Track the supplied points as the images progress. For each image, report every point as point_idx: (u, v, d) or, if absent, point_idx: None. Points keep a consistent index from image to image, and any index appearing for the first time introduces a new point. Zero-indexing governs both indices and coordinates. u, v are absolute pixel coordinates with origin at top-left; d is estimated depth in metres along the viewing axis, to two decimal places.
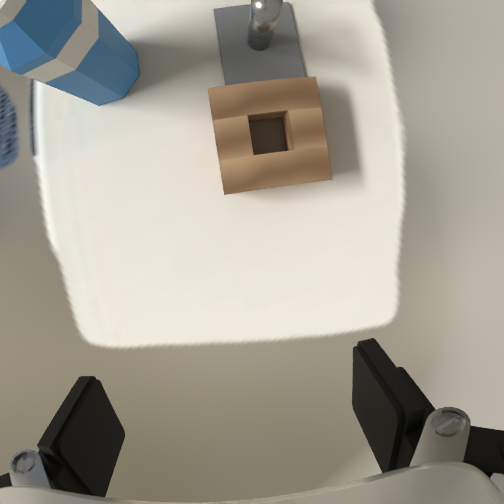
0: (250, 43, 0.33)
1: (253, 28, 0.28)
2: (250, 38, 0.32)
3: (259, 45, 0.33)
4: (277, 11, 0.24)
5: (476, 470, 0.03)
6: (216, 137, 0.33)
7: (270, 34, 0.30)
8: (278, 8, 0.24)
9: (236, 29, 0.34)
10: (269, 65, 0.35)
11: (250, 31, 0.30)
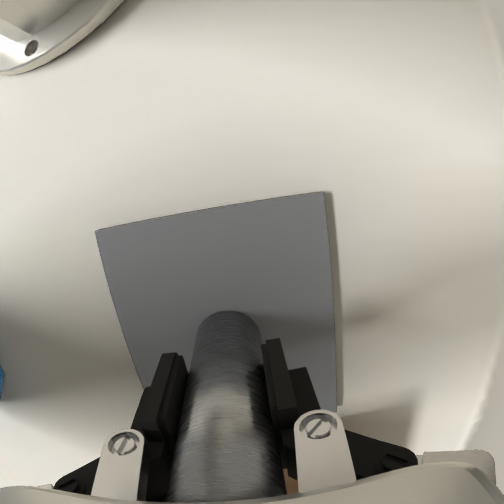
0: None
1: None
2: None
3: None
4: None
5: (476, 470, 0.03)
6: None
7: None
8: None
9: (164, 305, 0.14)
10: None
11: None
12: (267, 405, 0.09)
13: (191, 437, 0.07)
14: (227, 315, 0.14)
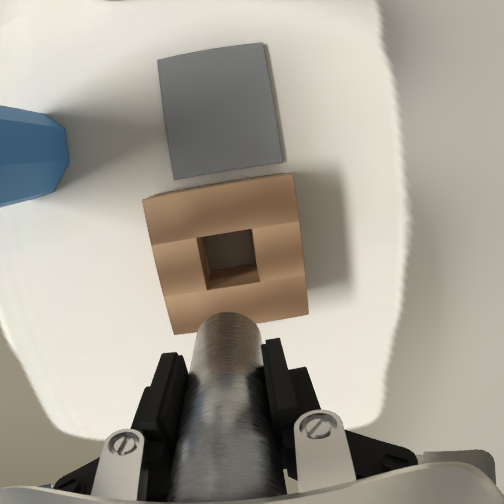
0: None
1: None
2: None
3: None
4: None
5: (476, 470, 0.03)
6: (158, 267, 0.26)
7: None
8: None
9: (187, 90, 0.26)
10: (231, 144, 0.28)
11: None
12: (267, 407, 0.09)
13: (191, 439, 0.07)
14: (227, 316, 0.14)
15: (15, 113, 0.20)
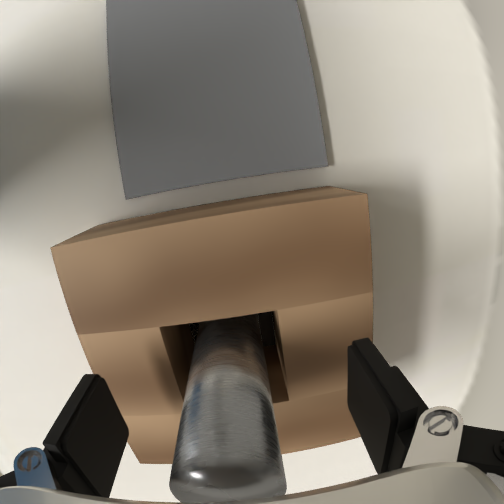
0: None
1: None
2: None
3: None
4: None
5: (476, 470, 0.03)
6: (95, 372, 0.12)
7: None
8: None
9: (152, 37, 0.13)
10: (232, 131, 0.14)
11: None
12: (261, 359, 0.12)
13: (199, 379, 0.10)
14: None
15: None
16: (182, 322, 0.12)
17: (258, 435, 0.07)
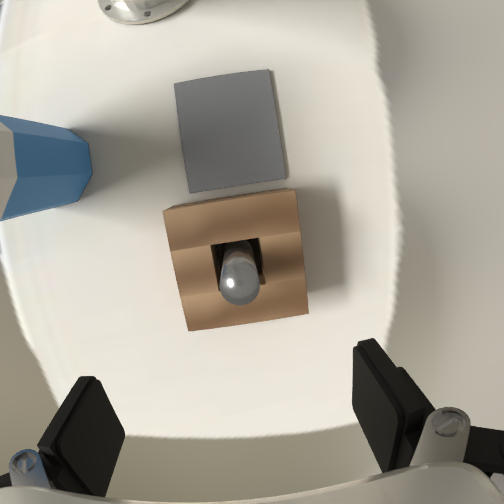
0: None
1: None
2: None
3: None
4: None
5: (476, 470, 0.03)
6: (176, 271, 0.30)
7: None
8: (254, 297, 0.24)
9: (201, 112, 0.31)
10: (241, 162, 0.32)
11: None
12: (253, 257, 0.29)
13: (229, 258, 0.27)
14: None
15: (45, 129, 0.24)
16: (220, 242, 0.29)
17: (250, 266, 0.25)
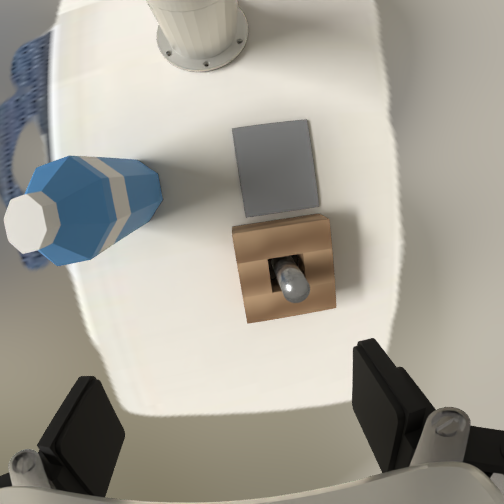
0: None
1: None
2: None
3: None
4: None
5: (476, 470, 0.03)
6: (240, 278, 0.40)
7: None
8: (305, 297, 0.35)
9: (255, 154, 0.41)
10: (285, 194, 0.43)
11: None
12: None
13: (284, 269, 0.38)
14: None
15: (131, 165, 0.34)
16: (275, 257, 0.40)
17: (302, 276, 0.35)
